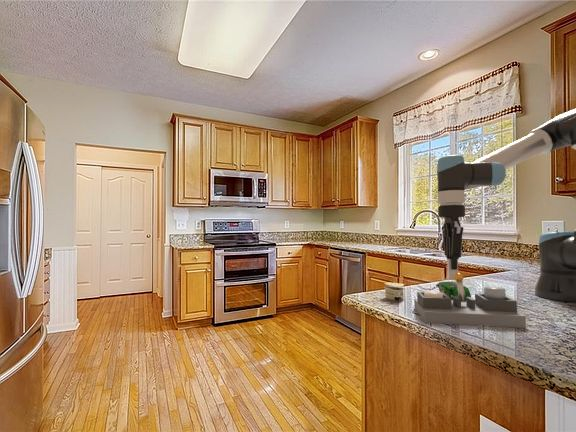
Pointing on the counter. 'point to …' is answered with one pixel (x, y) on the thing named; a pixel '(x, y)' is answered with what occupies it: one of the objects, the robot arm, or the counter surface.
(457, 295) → the snack package
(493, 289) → the grey blue button
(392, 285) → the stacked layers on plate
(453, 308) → the control panel
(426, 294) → the white button
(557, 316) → the counter surface
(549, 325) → the counter surface
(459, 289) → the toggle lever
